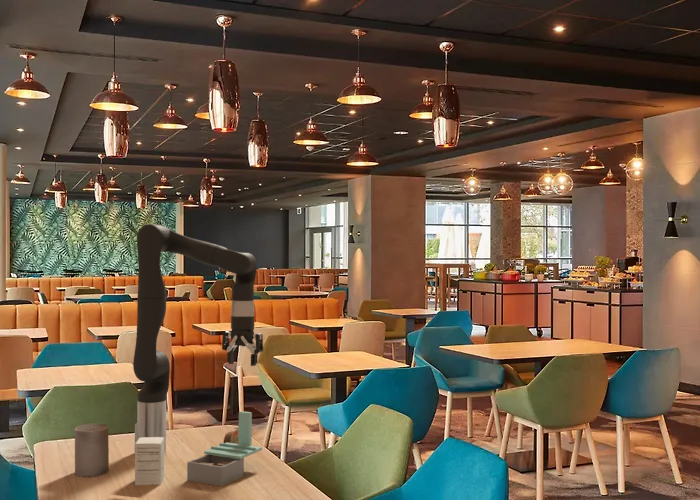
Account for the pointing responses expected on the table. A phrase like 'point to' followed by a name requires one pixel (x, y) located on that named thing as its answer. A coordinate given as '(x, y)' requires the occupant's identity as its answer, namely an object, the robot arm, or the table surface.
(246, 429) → the lid
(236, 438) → the tin
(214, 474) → the tub
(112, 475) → the table surface
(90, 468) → the pillar candle
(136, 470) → the supplement box
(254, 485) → the table surface
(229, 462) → the walnut block
